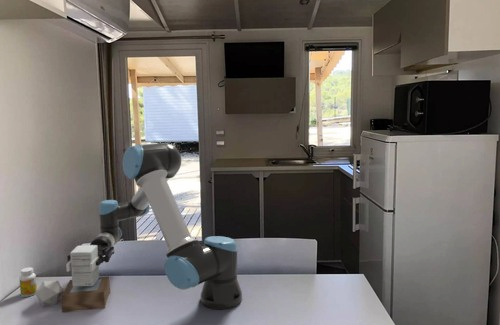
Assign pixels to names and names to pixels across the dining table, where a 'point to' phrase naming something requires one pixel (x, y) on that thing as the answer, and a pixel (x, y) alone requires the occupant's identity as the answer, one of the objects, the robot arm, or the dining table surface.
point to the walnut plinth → (86, 296)
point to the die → (49, 292)
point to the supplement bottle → (27, 282)
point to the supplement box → (84, 265)
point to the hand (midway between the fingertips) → (79, 267)
